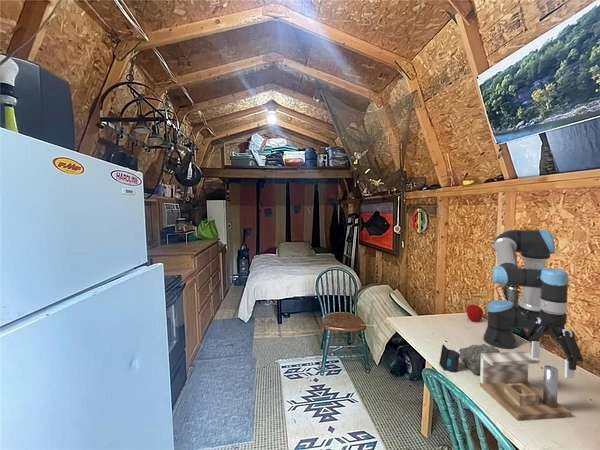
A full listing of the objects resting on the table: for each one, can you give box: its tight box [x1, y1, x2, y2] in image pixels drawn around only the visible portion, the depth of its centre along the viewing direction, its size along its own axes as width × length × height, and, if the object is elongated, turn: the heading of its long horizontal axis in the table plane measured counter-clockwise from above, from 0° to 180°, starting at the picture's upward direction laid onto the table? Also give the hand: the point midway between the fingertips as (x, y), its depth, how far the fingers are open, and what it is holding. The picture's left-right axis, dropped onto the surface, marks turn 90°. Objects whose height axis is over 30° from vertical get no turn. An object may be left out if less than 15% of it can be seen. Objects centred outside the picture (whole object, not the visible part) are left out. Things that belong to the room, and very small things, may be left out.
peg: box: [542, 364, 559, 408], centre depth 107 cm, size 4×4×14 cm
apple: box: [465, 304, 484, 322], centre depth 190 cm, size 10×10×11 cm
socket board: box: [479, 351, 571, 422], centre depth 113 cm, size 20×20×14 cm
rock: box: [458, 343, 501, 376], centre depth 135 cm, size 18×13×15 cm
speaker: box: [439, 344, 460, 373], centre depth 135 cm, size 8×6×10 cm
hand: (551, 366), depth 107 cm, fingers open, 13 cm apart
